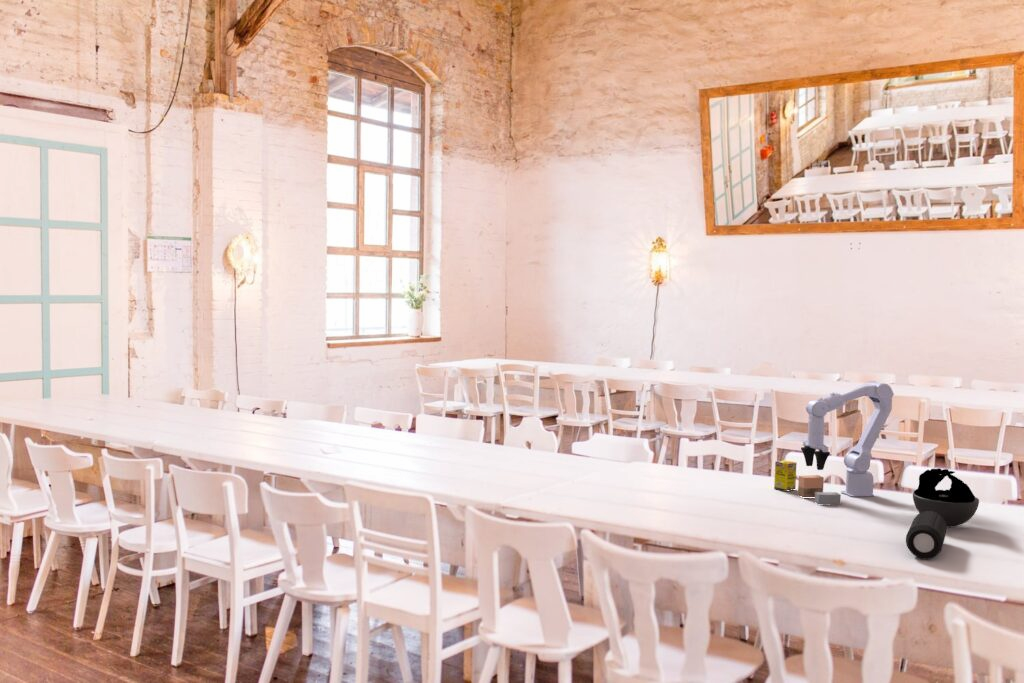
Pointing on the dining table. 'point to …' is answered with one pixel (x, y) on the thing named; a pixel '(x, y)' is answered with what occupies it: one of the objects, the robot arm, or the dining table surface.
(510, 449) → the dining table surface
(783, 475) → the supplement box
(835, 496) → the slate-grey brick
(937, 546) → the portable speaker
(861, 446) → the robot arm
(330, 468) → the dining table surface
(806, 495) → the walnut brick
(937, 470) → the coal bowl
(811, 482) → the terracotta brick
